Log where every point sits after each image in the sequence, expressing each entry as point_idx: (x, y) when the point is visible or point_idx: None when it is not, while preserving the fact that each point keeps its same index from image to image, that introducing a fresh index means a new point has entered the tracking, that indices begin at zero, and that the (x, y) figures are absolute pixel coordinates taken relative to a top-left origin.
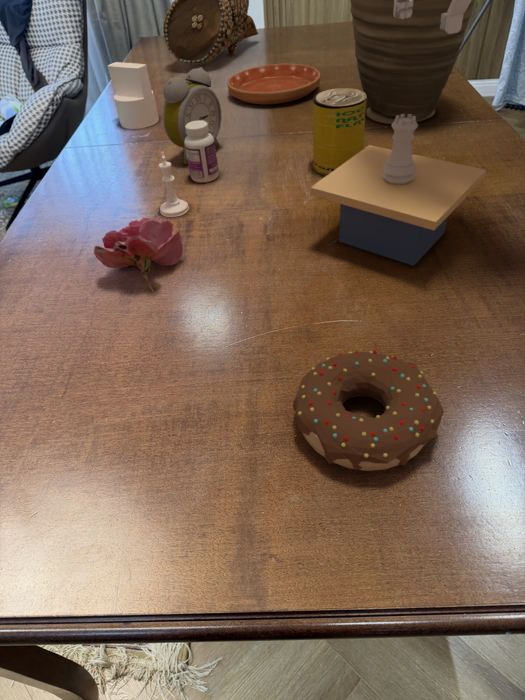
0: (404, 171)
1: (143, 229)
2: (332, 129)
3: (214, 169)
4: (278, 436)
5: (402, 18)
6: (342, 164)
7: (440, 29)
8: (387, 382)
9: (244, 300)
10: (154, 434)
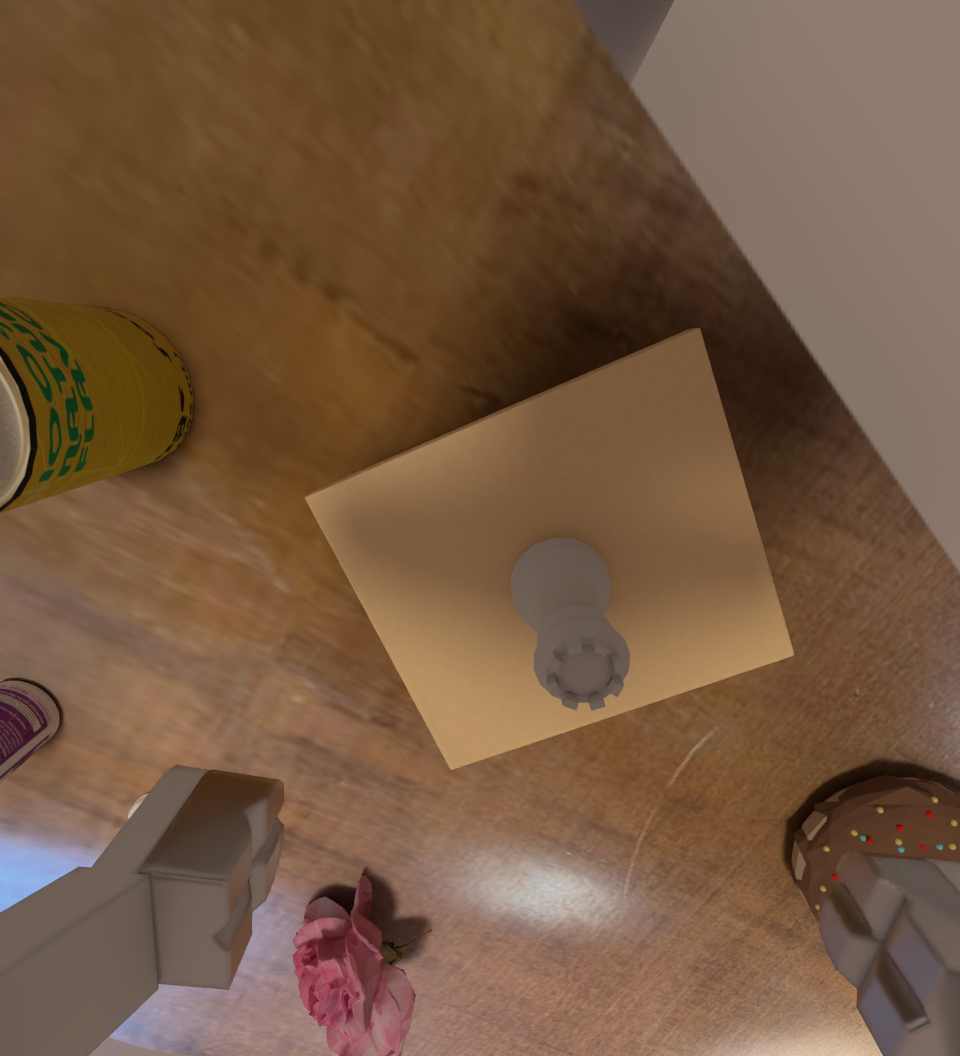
0: (604, 613)
1: (369, 1023)
2: (78, 478)
3: (31, 714)
4: (810, 914)
5: (280, 841)
6: (383, 642)
7: (828, 939)
8: (921, 856)
9: (542, 837)
10: (704, 1005)
